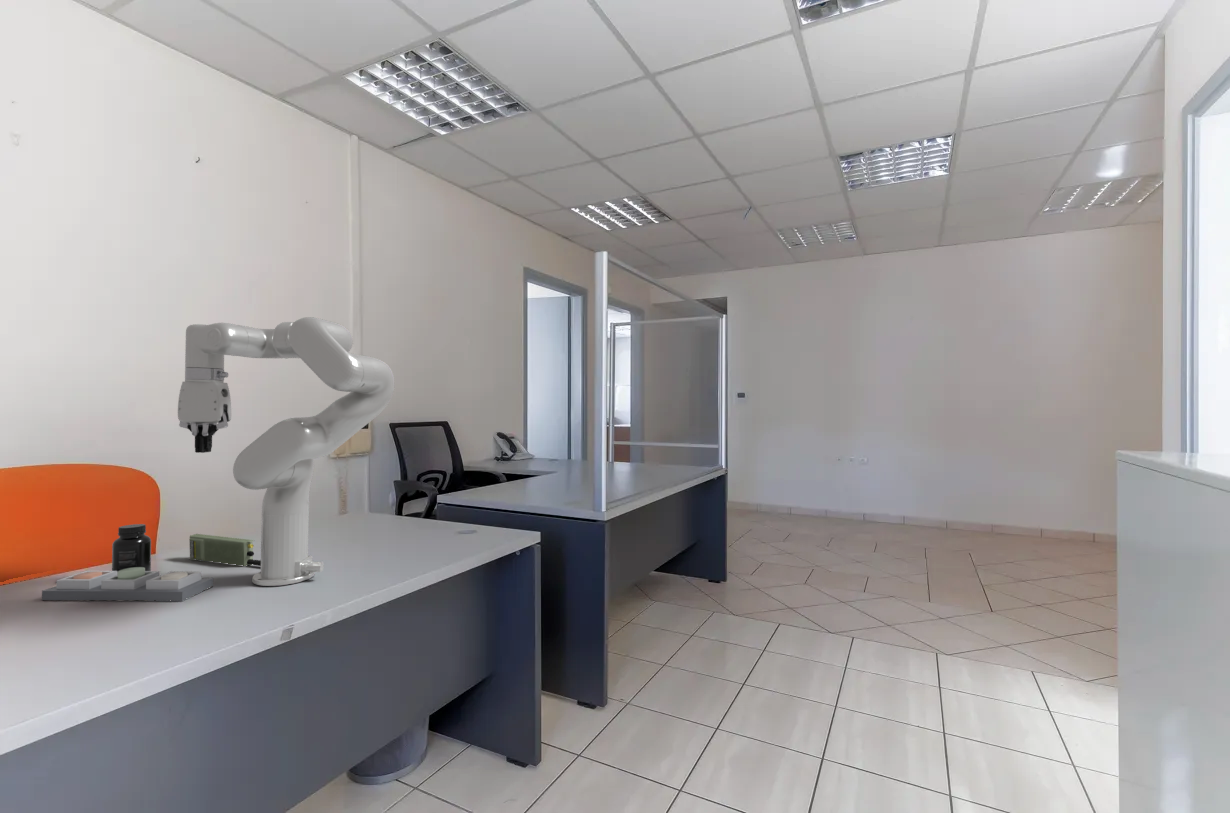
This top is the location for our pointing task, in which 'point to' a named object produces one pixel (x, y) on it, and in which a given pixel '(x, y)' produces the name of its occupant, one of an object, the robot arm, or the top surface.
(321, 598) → the top surface
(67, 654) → the top surface
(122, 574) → the sage button
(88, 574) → the terracotta button
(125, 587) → the button panel
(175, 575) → the cream button
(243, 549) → the handheld radio
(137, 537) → the supplement bottle
